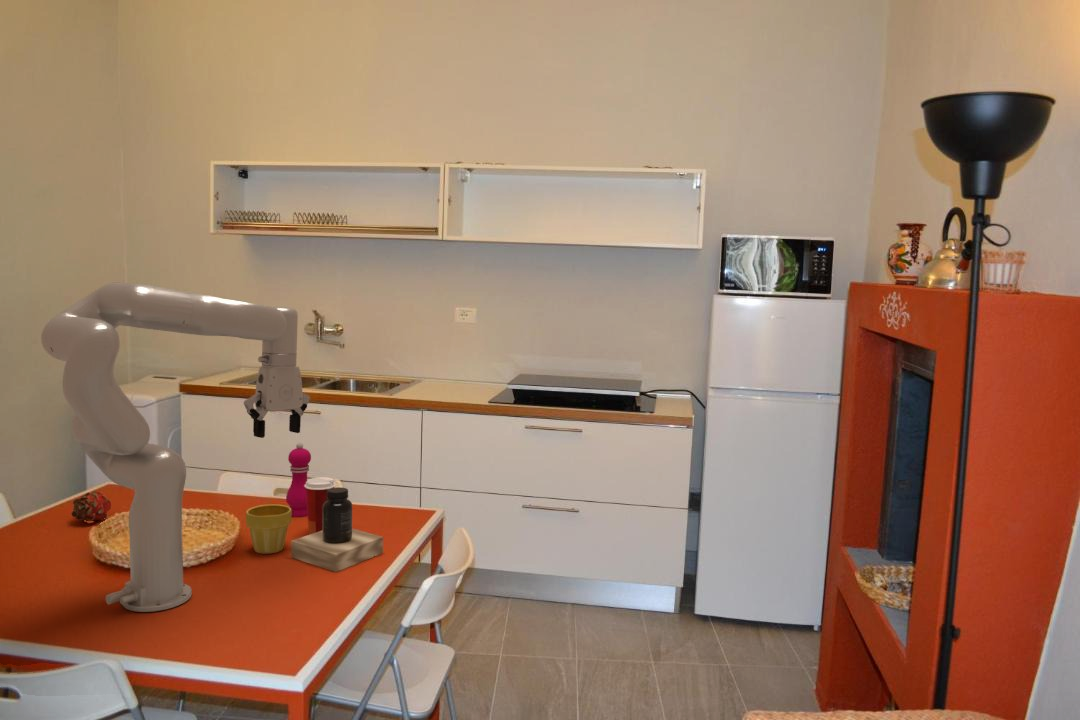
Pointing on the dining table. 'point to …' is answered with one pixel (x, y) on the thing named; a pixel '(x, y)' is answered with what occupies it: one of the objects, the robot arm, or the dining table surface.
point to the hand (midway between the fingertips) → (277, 434)
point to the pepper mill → (298, 480)
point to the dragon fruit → (91, 507)
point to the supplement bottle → (337, 516)
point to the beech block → (336, 550)
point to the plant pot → (268, 527)
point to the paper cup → (317, 501)
